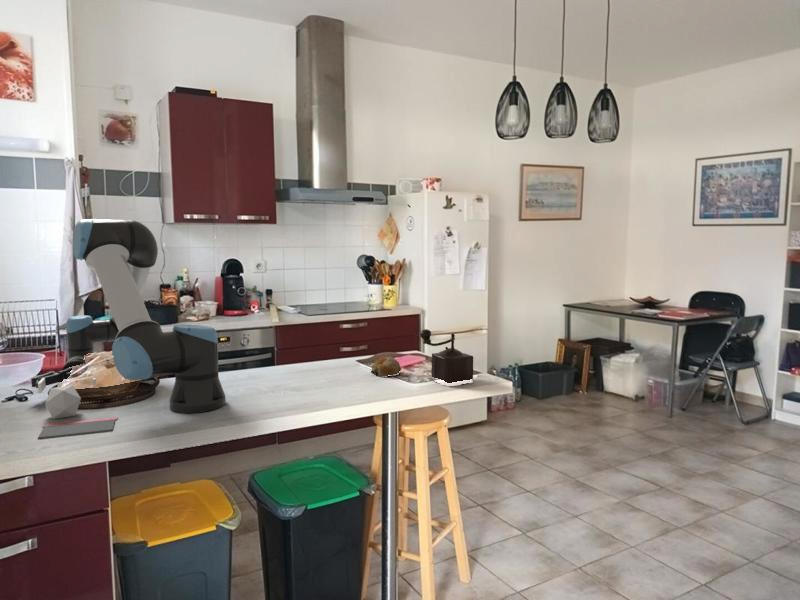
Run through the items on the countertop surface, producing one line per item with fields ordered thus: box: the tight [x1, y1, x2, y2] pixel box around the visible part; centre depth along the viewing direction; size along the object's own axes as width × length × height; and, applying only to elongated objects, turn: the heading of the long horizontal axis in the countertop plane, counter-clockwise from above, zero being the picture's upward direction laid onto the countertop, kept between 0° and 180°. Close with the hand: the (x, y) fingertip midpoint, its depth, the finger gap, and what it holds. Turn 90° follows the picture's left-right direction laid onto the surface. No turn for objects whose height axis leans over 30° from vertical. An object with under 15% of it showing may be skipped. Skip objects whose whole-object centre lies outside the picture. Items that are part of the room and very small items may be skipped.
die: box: [44, 385, 82, 420], centre depth 156 cm, size 8×9×10 cm
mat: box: [37, 420, 116, 440], centre depth 145 cm, size 16×8×1 cm, turn 112°
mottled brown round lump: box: [370, 356, 401, 377], centre depth 205 cm, size 10×10×8 cm
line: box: [42, 416, 119, 428], centre depth 151 cm, size 17×2×1 cm, turn 112°
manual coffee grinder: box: [419, 328, 474, 383], centre depth 193 cm, size 16×11×18 cm
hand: (67, 386), depth 164 cm, fingers open, 13 cm apart
